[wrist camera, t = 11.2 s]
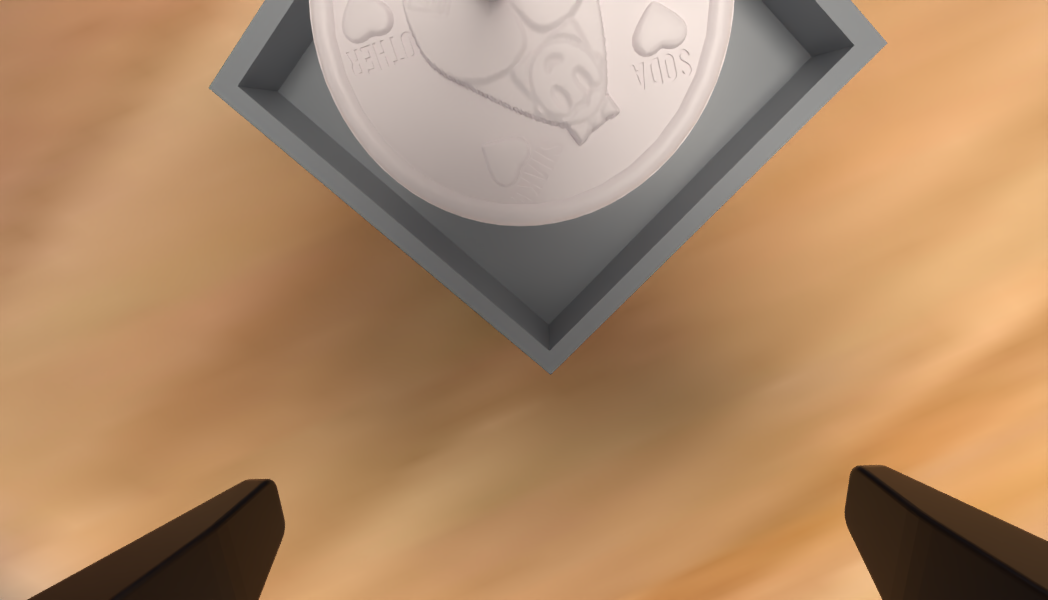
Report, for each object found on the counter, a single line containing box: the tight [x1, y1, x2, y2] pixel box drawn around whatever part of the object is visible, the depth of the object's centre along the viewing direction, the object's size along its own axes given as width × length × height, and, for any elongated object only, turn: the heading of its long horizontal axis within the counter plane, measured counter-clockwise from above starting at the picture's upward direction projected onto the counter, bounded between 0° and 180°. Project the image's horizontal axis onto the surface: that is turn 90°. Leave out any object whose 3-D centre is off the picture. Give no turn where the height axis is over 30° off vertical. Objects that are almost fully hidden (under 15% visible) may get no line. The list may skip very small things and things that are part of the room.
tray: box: [209, 0, 887, 375], centre depth 16 cm, size 13×13×3 cm
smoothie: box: [309, 0, 734, 226], centre depth 10 cm, size 6×6×14 cm
